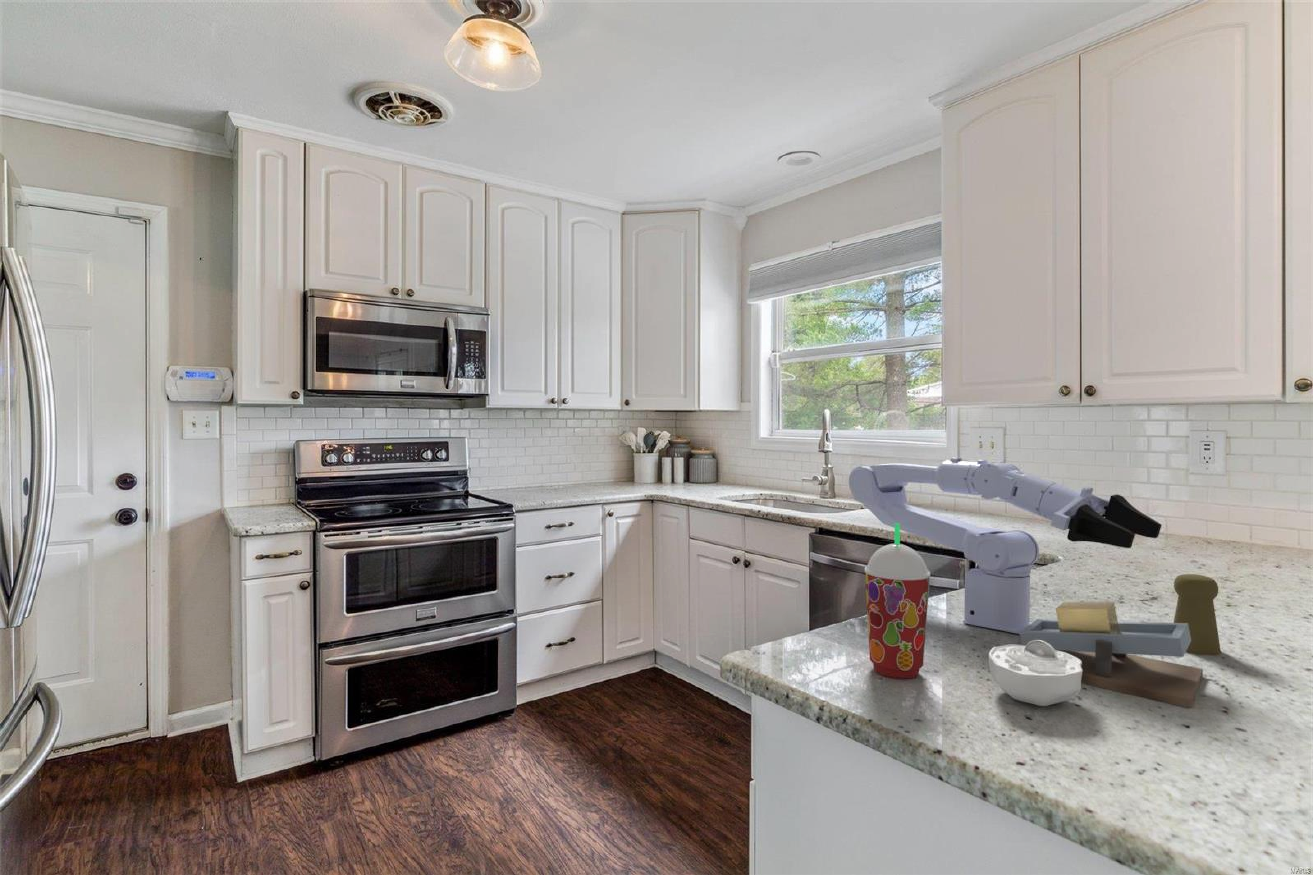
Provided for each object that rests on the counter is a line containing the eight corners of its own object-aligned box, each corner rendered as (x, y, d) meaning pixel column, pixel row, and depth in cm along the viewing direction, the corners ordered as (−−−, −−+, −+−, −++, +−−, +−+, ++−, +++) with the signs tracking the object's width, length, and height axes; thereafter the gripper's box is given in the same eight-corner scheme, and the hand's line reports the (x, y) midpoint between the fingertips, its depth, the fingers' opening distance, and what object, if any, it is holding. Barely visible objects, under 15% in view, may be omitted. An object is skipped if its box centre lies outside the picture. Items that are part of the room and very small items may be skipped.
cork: (1231, 656, 96) (1232, 580, 96) (1183, 653, 97) (1184, 578, 97) (1205, 643, 102) (1206, 571, 102) (1161, 640, 103) (1162, 570, 103)
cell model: (968, 698, 81) (968, 642, 81) (1014, 675, 88) (1014, 625, 88) (1058, 728, 73) (1059, 666, 73) (1100, 701, 80) (1101, 645, 80)
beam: (1021, 648, 93) (1018, 632, 93) (1040, 633, 99) (1037, 618, 100) (1183, 657, 80) (1179, 639, 80) (1191, 639, 87) (1188, 622, 87)
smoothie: (927, 664, 92) (928, 521, 92) (931, 687, 84) (932, 530, 84) (864, 657, 95) (865, 518, 94) (862, 678, 87) (863, 526, 87)
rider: (1060, 637, 91) (1055, 608, 92) (1069, 630, 95) (1064, 601, 95) (1112, 640, 87) (1106, 609, 87) (1119, 631, 91) (1114, 602, 91)
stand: (1006, 665, 92) (1006, 626, 92) (1034, 642, 102) (1035, 607, 102) (1190, 708, 78) (1191, 662, 78) (1202, 676, 88) (1203, 636, 88)
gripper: (1029, 483, 99) (1127, 519, 88) (1081, 470, 107) (1178, 502, 96) (1018, 526, 101) (1113, 566, 90) (1070, 510, 109) (1163, 546, 98)
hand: (1145, 536), depth 93 cm, fingers open, 7 cm apart
